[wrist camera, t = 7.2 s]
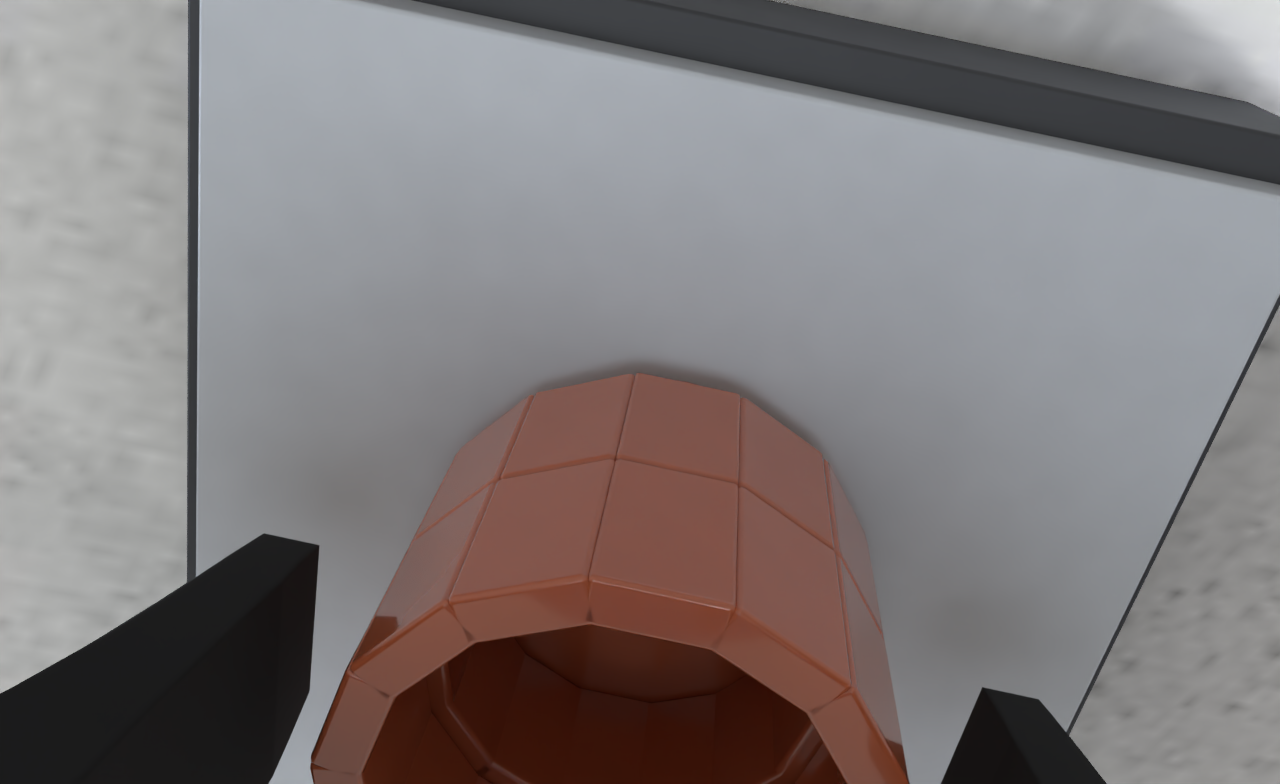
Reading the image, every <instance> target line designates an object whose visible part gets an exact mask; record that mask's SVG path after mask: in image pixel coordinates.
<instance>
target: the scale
mask: <svg viewBox="0 0 1280 784" xmlns="http://www.w3.org/2000/svg"><path fill="white" fill-rule="evenodd" d="M1279 305H1280V117H1279V116H1277V115H1274V114H1272V113H1270V112H1268V111H1266V110H1264V109H1261V108H1259V107H1257V106H1255V105H1253V104H1251V103H1249V102H1244V101H1240V100H1235V99H1230V98H1226V97H1221V96H1216V95H1211V94H1207V93H1202V92H1197V91H1193V90H1188V89H1183V88H1178V87H1174V86H1169V85H1164V84H1160V83H1155V82H1150V81H1145V80H1141V79H1136V78H1131V77H1127V76H1122V75H1117V74H1113V73H1108V72H1103V71H1098V70H1094V69H1089V68H1084V67H1080V66H1075V65H1070V64H1065V63H1061V62H1056V61H1051V60H1047V59H1042V58H1037V57H1032V56H1028V55H1023V54H1018V53H1014V52H1009V51H1004V50H1000V49H995V48H990V47H985V46H981V45H976V44H971V43H967V42H962V41H957V40H952V39H948V38H943V37H938V36H934V35H929V34H924V33H919V32H915V31H910V30H905V29H901V28H896V27H891V26H887V25H882V24H877V23H872V22H868V21H863V20H858V19H854V18H849V17H844V16H839V15H835V14H830V13H825V12H821V11H816V10H811V9H806V8H802V7H797V6H792V5H788V4H783V3H778V2H773V1H769V0H188V453H187V582H189V581H190V580H192V579H194V578H195V577H197V576H198V575H200V574H201V573H203V572H204V571H206V570H207V569H209V568H210V567H212V566H213V565H215V564H216V563H218V562H219V561H221V560H222V559H224V558H225V557H227V556H229V555H230V554H232V553H233V552H235V551H236V550H238V549H239V548H241V547H243V546H244V545H246V544H247V543H249V542H251V541H252V540H254V539H255V538H257V537H259V536H260V535H262V534H264V533H265V534H270V535H274V536H279V537H284V538H288V539H293V540H298V541H302V542H307V543H312V544H316V545H320V546H319V561H318V575H317V590H316V605H315V619H314V634H313V649H312V663H311V678H310V692H309V694H308V696H307V699H306V701H305V703H304V706H303V708H302V711H301V713H300V715H299V718H298V720H297V722H296V725H295V727H294V729H293V732H292V734H291V737H290V739H289V741H288V743H287V746H286V748H285V750H284V752H283V755H282V757H281V759H280V761H279V764H278V766H277V768H276V770H275V773H274V775H273V777H272V779H271V780H270V782H269V784H313V779H312V775H311V770H310V764H311V754H312V751H313V749H314V747H315V744H316V742H317V739H318V737H319V734H320V732H321V729H322V727H323V724H324V722H325V719H326V717H327V714H328V712H329V709H330V707H331V704H332V702H333V699H334V697H335V694H336V692H337V690H338V687H339V685H340V682H341V680H342V677H343V675H344V672H345V670H346V668H347V666H348V664H349V662H350V660H351V658H352V656H353V654H354V652H355V650H356V648H357V646H358V644H359V642H360V641H361V639H362V637H363V635H364V633H365V631H366V629H367V627H368V625H369V623H370V621H371V619H372V617H373V615H374V613H375V611H376V609H377V607H378V605H379V603H380V601H381V599H382V597H383V595H384V593H385V592H386V590H387V588H388V586H389V584H390V582H391V580H392V578H393V576H394V574H395V572H396V570H397V568H398V566H399V564H400V562H401V560H402V558H403V556H404V554H405V552H406V550H407V549H408V547H409V545H410V543H411V541H412V539H413V537H414V535H415V533H416V531H417V529H418V527H419V525H420V523H421V521H422V519H423V517H424V515H425V513H426V511H427V509H428V507H429V505H430V503H431V501H432V499H433V498H434V496H435V494H436V492H437V490H438V488H439V486H440V484H441V482H442V480H443V478H444V476H445V474H446V472H447V470H448V468H449V466H450V464H451V462H452V460H453V458H454V456H455V454H457V453H458V452H459V450H460V448H461V447H462V446H464V445H465V444H466V443H468V442H469V441H470V440H472V439H473V438H474V437H475V436H477V435H478V434H479V433H481V432H482V431H483V430H484V429H486V428H487V427H488V426H490V425H491V424H492V423H494V422H495V421H496V420H497V419H499V418H500V417H501V416H503V415H504V414H505V413H507V412H508V411H509V410H510V409H512V408H513V407H514V406H516V405H517V404H518V403H519V402H521V401H522V400H523V399H525V398H526V397H527V396H529V395H535V394H536V393H538V392H542V391H547V390H552V389H557V388H561V387H566V386H571V385H576V384H581V383H586V382H591V381H596V380H601V379H605V378H610V377H615V376H620V375H625V374H634V376H635V374H636V373H644V374H649V375H654V376H658V377H663V378H668V379H673V380H680V381H686V382H690V383H694V384H697V385H701V386H705V387H710V388H715V389H719V390H724V391H729V392H733V393H737V394H739V395H740V397H741V398H742V397H744V398H747V399H748V400H749V401H751V402H752V403H754V404H755V405H756V406H758V407H759V408H760V409H762V410H763V411H765V412H766V413H767V414H769V415H770V416H771V417H773V418H774V419H776V420H777V421H778V422H780V423H781V424H782V425H784V426H785V427H787V428H788V429H789V430H791V431H792V432H794V433H795V434H796V435H798V436H799V437H800V438H802V439H803V440H805V441H806V442H807V443H809V444H810V445H811V446H813V447H814V448H816V449H817V450H818V451H820V452H821V453H822V455H823V457H824V459H825V460H826V461H828V462H829V463H830V465H831V467H832V469H833V471H834V473H835V475H836V477H837V479H838V481H839V483H840V485H841V487H842V489H843V491H844V493H845V495H846V497H847V499H848V501H849V503H850V505H851V506H852V508H853V510H854V512H855V514H856V516H857V518H858V520H859V522H860V524H861V526H862V528H863V530H864V532H865V534H866V540H867V543H868V547H869V553H870V559H871V564H872V570H873V576H874V582H875V587H876V593H877V599H878V605H879V611H880V616H881V622H882V628H883V634H884V640H885V647H886V651H887V656H888V662H889V667H890V673H891V679H892V685H893V691H894V696H895V702H896V708H897V714H898V719H899V725H900V731H901V737H902V743H903V748H904V754H905V760H906V766H907V771H908V777H909V783H910V784H941V782H942V780H943V777H944V775H945V773H946V770H947V768H948V766H949V763H950V761H951V759H952V756H953V754H954V752H955V749H956V747H957V745H958V742H959V740H960V738H961V735H962V733H963V731H964V728H965V726H966V724H967V722H968V719H969V717H970V715H971V712H972V710H973V708H974V705H975V703H976V701H977V698H978V696H979V694H980V691H981V689H982V687H984V688H989V689H993V690H998V691H1003V692H1007V693H1012V694H1017V695H1021V696H1026V697H1031V698H1035V699H1039V700H1040V701H1041V702H1042V704H1043V705H1044V706H1045V707H1046V708H1047V709H1048V711H1049V712H1050V713H1051V714H1052V715H1053V717H1054V718H1055V719H1056V720H1057V722H1058V723H1059V724H1060V725H1061V727H1062V728H1063V729H1064V730H1065V732H1066V733H1067V734H1068V735H1069V734H1070V732H1071V730H1072V728H1073V726H1074V724H1075V722H1076V720H1077V718H1078V715H1079V713H1080V711H1081V709H1082V707H1083V705H1084V703H1085V701H1086V699H1087V697H1088V695H1089V693H1090V691H1091V689H1092V687H1093V685H1094V683H1095V681H1096V679H1097V677H1098V675H1099V673H1100V671H1101V669H1102V666H1103V664H1104V662H1105V660H1106V658H1107V656H1108V654H1109V652H1110V650H1111V648H1112V646H1113V644H1114V642H1115V640H1116V638H1117V636H1118V634H1119V632H1120V630H1121V628H1122V626H1123V624H1124V622H1125V620H1126V617H1127V615H1128V613H1129V611H1130V609H1131V607H1132V605H1133V603H1134V601H1135V599H1136V597H1137V595H1138V593H1139V591H1140V589H1141V587H1142V585H1143V583H1144V581H1145V579H1146V577H1147V575H1148V573H1149V571H1150V568H1151V566H1152V564H1153V562H1154V560H1155V558H1156V556H1157V554H1158V552H1159V550H1160V548H1161V546H1162V544H1163V542H1164V540H1165V538H1166V536H1167V534H1168V532H1169V530H1170V528H1171V526H1172V524H1173V522H1174V519H1175V517H1176V515H1177V513H1178V511H1179V509H1180V507H1181V505H1182V503H1183V501H1184V499H1185V497H1186V495H1187V493H1188V491H1189V489H1190V487H1191V485H1192V483H1193V481H1194V479H1195V477H1196V475H1197V473H1198V470H1199V468H1200V466H1201V464H1202V462H1203V460H1204V458H1205V456H1206V454H1207V452H1208V450H1209V448H1210V446H1211V444H1212V442H1213V440H1214V438H1215V436H1216V434H1217V432H1218V430H1219V428H1220V426H1221V424H1222V421H1223V419H1224V417H1225V415H1226V413H1227V411H1228V409H1229V407H1230V405H1231V403H1232V401H1233V399H1234V397H1235V395H1236V393H1237V391H1238V389H1239V387H1240V385H1241V383H1242V381H1243V379H1244V377H1245V375H1246V372H1247V370H1248V368H1249V366H1250V364H1251V362H1252V360H1253V358H1254V356H1255V354H1256V352H1257V350H1258V348H1259V346H1260V344H1261V342H1262V340H1263V338H1264V336H1265V334H1266V332H1267V330H1268V328H1269V326H1270V323H1271V321H1272V319H1273V317H1274V315H1275V313H1276V311H1277V309H1278V307H1279Z"/></svg>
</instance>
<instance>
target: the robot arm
mask: <svg viewBox="0 0 1280 784" xmlns="http://www.w3.org/2000/svg"><path fill="white" fill-rule="evenodd" d="M319 546H320V545H316V544H312V543H307V542H302V541H298V540H293V539H288V538H284V537H279V536H274V535H270V534H265V533H264V534H262V535H260V536H259V537H257V538H255V539H254V540H252V541H251V542H249V543H247V544H246V545H244V546H243V547H241V548H239V549H238V550H236V551H235V552H233V553H232V554H230V555H229V556H227V557H225V558H224V559H222V560H221V561H219V562H218V563H216V564H215V565H213V566H212V567H210V568H209V569H207V570H206V571H204V572H203V573H201V574H200V575H198V576H197V577H195V578H194V579H192V580H190V581H189V582H187V583H186V584H184V585H183V586H181V587H180V588H178V589H177V590H175V591H174V592H172V593H170V594H169V595H167V596H166V597H164V598H163V599H161V600H160V601H158V602H157V603H155V604H153V605H152V606H150V607H148V608H147V609H145V610H144V611H142V612H140V613H139V614H137V615H136V616H134V617H132V618H131V619H129V620H128V621H126V622H124V623H123V624H121V625H120V626H118V627H116V628H115V629H113V630H111V631H110V632H108V633H107V634H105V635H103V636H102V637H100V638H99V639H97V640H95V641H94V642H92V643H90V644H88V645H87V646H85V647H83V648H82V649H80V650H78V651H76V652H75V653H73V654H71V655H69V656H67V657H66V658H64V659H62V660H60V661H59V662H57V663H55V664H53V665H51V666H50V667H48V668H46V669H44V670H43V671H41V672H39V673H37V674H35V675H34V676H32V677H30V678H28V679H27V680H25V681H23V682H21V683H19V684H18V685H16V686H14V687H12V688H10V689H9V690H7V691H5V692H3V693H1V694H0V784H269V782H270V780H271V779H272V777H273V775H274V773H275V770H276V768H277V766H278V764H279V761H280V759H281V757H282V755H283V752H284V750H285V748H286V746H287V743H288V741H289V739H290V737H291V734H292V732H293V729H294V727H295V725H296V722H297V720H298V718H299V715H300V713H301V711H302V708H303V706H304V703H305V701H306V699H307V696H308V694H309V692H310V678H311V663H312V649H313V634H314V619H315V605H316V590H317V575H318V561H319ZM941 784H1106V782H1105V781H1104V780H1103V779H1102V777H1101V776H1100V775H1099V774H1098V772H1097V771H1096V770H1095V768H1094V767H1093V766H1092V765H1091V763H1090V762H1089V761H1088V759H1087V758H1086V757H1085V756H1084V754H1083V753H1082V752H1081V751H1080V749H1079V748H1078V747H1077V745H1076V744H1075V743H1074V742H1073V740H1072V739H1071V738H1070V737H1069V735H1068V734H1067V733H1066V732H1065V730H1064V729H1063V728H1062V727H1061V725H1060V724H1059V723H1058V722H1057V720H1056V719H1055V718H1054V717H1053V715H1052V714H1051V713H1050V712H1049V711H1048V709H1047V708H1046V707H1045V706H1044V705H1043V704H1042V702H1041V701H1040V700H1039V699H1035V698H1031V697H1026V696H1021V695H1017V694H1012V693H1007V692H1003V691H998V690H993V689H989V688H984V687H982V689H981V691H980V694H979V696H978V698H977V701H976V703H975V705H974V708H973V710H972V712H971V715H970V717H969V719H968V722H967V724H966V726H965V728H964V731H963V733H962V735H961V738H960V740H959V742H958V745H957V747H956V749H955V752H954V754H953V756H952V759H951V761H950V763H949V766H948V768H947V770H946V773H945V775H944V777H943V780H942V782H941Z"/></svg>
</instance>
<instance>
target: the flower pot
mask: <svg viewBox="0 0 1280 784" xmlns="http://www.w3.org/2000/svg"><path fill="white" fill-rule="evenodd" d="M310 770H311V775H312V779H313V784H910V783H909V777H908V771H907V766H906V760H905V754H904V748H903V743H902V737H901V731H900V725H899V719H898V714H897V708H896V702H895V696H894V691H893V685H892V679H891V673H890V667H889V662H888V656H887V651H886V647H885V640H884V634H883V628H882V622H881V616H880V611H879V605H878V599H877V593H876V587H875V582H874V576H873V570H872V564H871V559H870V553H869V547H868V543H867V540H866V534H865V532H864V530H863V528H862V526H861V524H860V522H859V520H858V518H857V516H856V514H855V512H854V510H853V508H852V506H851V505H850V503H849V501H848V499H847V497H846V495H845V493H844V491H843V489H842V487H841V485H840V483H839V481H838V479H837V477H836V475H835V473H834V471H833V469H832V467H831V465H830V463H829V462H828V461H826V460H825V459H824V457H823V455H822V453H821V452H820V451H818V450H817V449H816V448H814V447H813V446H811V445H810V444H809V443H807V442H806V441H805V440H803V439H802V438H800V437H799V436H798V435H796V434H795V433H794V432H792V431H791V430H789V429H788V428H787V427H785V426H784V425H782V424H781V423H780V422H778V421H777V420H776V419H774V418H773V417H771V416H770V415H769V414H767V413H766V412H765V411H763V410H762V409H760V408H759V407H758V406H756V405H755V404H754V403H752V402H751V401H749V400H748V399H747V398H744V397H742V398H741V397H740V395H739V394H737V393H733V392H729V391H724V390H719V389H715V388H710V387H705V386H701V385H697V384H694V383H690V382H686V381H680V380H673V379H668V378H663V377H658V376H654V375H649V374H644V373H636V374H635V376H634V374H625V375H620V376H615V377H610V378H605V379H601V380H596V381H591V382H586V383H581V384H576V385H571V386H566V387H561V388H557V389H552V390H547V391H542V392H538V393H536V394H535V395H529V396H527V397H526V398H525V399H523V400H522V401H521V402H519V403H518V404H517V405H516V406H514V407H513V408H512V409H510V410H509V411H508V412H507V413H505V414H504V415H503V416H501V417H500V418H499V419H497V420H496V421H495V422H494V423H492V424H491V425H490V426H488V427H487V428H486V429H484V430H483V431H482V432H481V433H479V434H478V435H477V436H475V437H474V438H473V439H472V440H470V441H469V442H468V443H466V444H465V445H464V446H462V447H461V448H460V450H459V452H458V453H457V454H455V456H454V458H453V460H452V462H451V464H450V466H449V468H448V470H447V472H446V474H445V476H444V478H443V480H442V482H441V484H440V486H439V488H438V490H437V492H436V494H435V496H434V498H433V499H432V501H431V503H430V505H429V507H428V509H427V511H426V513H425V515H424V517H423V519H422V521H421V523H420V525H419V527H418V529H417V531H416V533H415V535H414V537H413V539H412V541H411V543H410V545H409V547H408V549H407V550H406V552H405V554H404V556H403V558H402V560H401V562H400V564H399V566H398V568H397V570H396V572H395V574H394V576H393V578H392V580H391V582H390V584H389V586H388V588H387V590H386V592H385V593H384V595H383V597H382V599H381V601H380V603H379V605H378V607H377V609H376V611H375V613H374V615H373V617H372V619H371V621H370V623H369V625H368V627H367V629H366V631H365V633H364V635H363V637H362V639H361V641H360V642H359V644H358V646H357V648H356V650H355V652H354V654H353V656H352V658H351V660H350V662H349V664H348V666H347V668H346V670H345V672H344V675H343V677H342V680H341V682H340V685H339V687H338V690H337V692H336V694H335V697H334V699H333V702H332V704H331V707H330V709H329V712H328V714H327V717H326V719H325V722H324V724H323V727H322V729H321V732H320V734H319V737H318V739H317V742H316V744H315V747H314V749H313V751H312V754H311V764H310Z"/></svg>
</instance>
